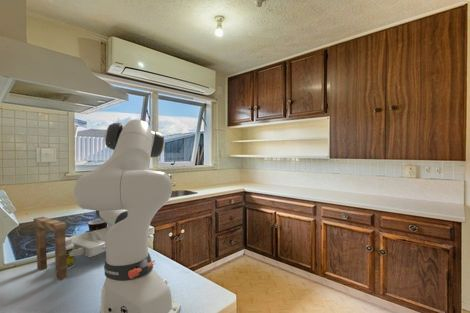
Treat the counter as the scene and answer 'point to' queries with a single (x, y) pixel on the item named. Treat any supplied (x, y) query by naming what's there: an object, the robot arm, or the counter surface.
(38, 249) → the walnut archway
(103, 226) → the coffee mug
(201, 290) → the counter surface
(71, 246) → the pill bottle
